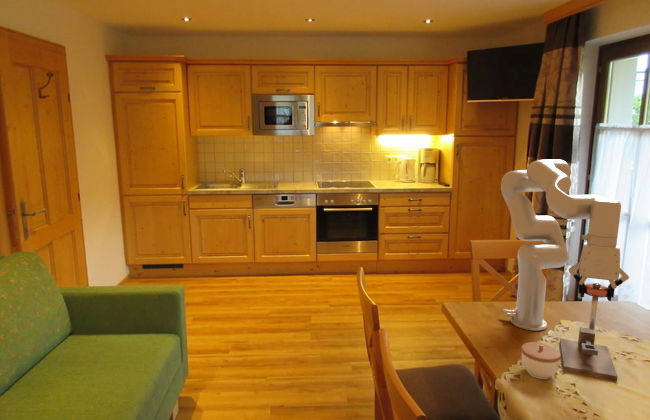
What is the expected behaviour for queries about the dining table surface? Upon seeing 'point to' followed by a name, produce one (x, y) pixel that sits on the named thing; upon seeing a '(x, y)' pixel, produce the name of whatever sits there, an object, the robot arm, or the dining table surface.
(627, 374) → the dining table surface
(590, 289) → the orange knobbed disc
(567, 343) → the eye stand
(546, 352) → the lidded jar
